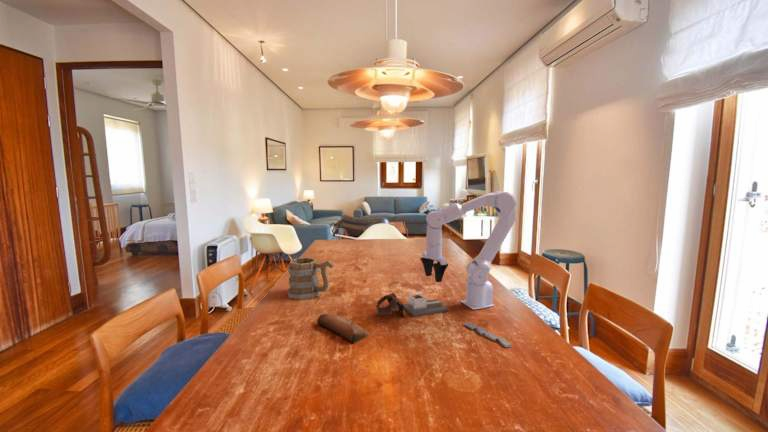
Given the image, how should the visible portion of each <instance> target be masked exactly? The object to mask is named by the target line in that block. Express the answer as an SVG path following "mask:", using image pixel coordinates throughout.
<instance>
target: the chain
mask: <svg viewBox="0 0 768 432" xmlns="http://www.w3.org/2000/svg"><path fill="white" fill-rule="evenodd" d="M464 326H465V327H467V328H469V329H471V330H472V331H475V332H477V333H478V334H479V335H480V336H483V337H485V338H487V339H489V340H490V341H493V342H498V344H500V345H501V346H503V347H504V348H511V347H512V343H511V342H510V341H508V340H507V339H505V338H504V337H500V336H497V335H495V334H494V333H492V332H490V331H486V329H484V328H483V327H482V326H478V325H476V324H474V323H473V322H471V321H468V322H465V323H464Z"/></svg>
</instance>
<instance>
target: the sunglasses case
mask: <svg viewBox="0 0 768 432" xmlns="http://www.w3.org/2000/svg"><path fill="white" fill-rule="evenodd" d="M317 324H318V325H319V326H321V327H324V328H326V329H329V330H331V331H332V332H334V333H336V334H338V336H340V337H343V338H344V339H346V340H348V341H349V342H351V343H353V344H356V343H358V342H360V341H362V340H364V339H365V338H368V337H369V336H371V333H370V332H369V331H368V330H367V329H365V328H363V327H362V326H360V325H358V324H357V323H355V322H353V320H351V319H349V318H348V317H345V316H344V317H342V316H341V315H337V314H329V313H327V314H326V313H324V314H323V313H322V314H320V315H319V316H318V318H317Z"/></svg>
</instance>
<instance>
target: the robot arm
mask: <svg viewBox="0 0 768 432" xmlns="http://www.w3.org/2000/svg"><path fill="white" fill-rule="evenodd" d="M517 204H518V203H517V200H516V199H515V197H514V195H513V194H512V193H511V192H508V191H502V190H496V191H493V192H489V193H486V194H482V195H481V196H477V197H475V198H473V199H471V200H468V201H466V202H464V203H462V204H459V203H456V202H454V203H453V202H450V203H449V204H448V205H447V206H444V207H442V208H436V210H432V211H429V212H428V214H427V215H426V218H425V221H426V223H427V226H426V241H425V242H426V250H422V253H421V254H422V255H421V256H422V257H420V258H419V259H420V262H421V263H422V266H423V269H424V273H425V276H426V277H431V276H432V275H433V274H432V273H433V270H434V278H435V279H434V280H435V282H436V283H441V282H443V277H444V274H445V272H446V270H447V268H448V266H449V263H447V262H448V261H447V258H445V257H444V256H443V253H442V251H443V250H442V249H443V246H442V245H443V231H442V230H443V229H442V226H443V225H444V224H448V223H451V222H453V221H456V220H458V219H462V217H463V215H464V214H465V213H468V212H470V211H474V210H476V209H479V208H480V209H481V208H482V207H490V208H491V207H492V208H494V210H495V211H496V213H497V216H498V220H497V222H496V224H495V225H494V227H493V229H492V231H491V233H490V234H489V236H488V238H487V239H486V241H485V243H484V244H483V247H482V249H481V250H480V252H479V254H478V255H476V256H475V257H474V258H473V260H472V261H470V262H469V263H468V264H467V266H466V269H465V270H466V274H467V275H468V277H467V279H466V284H465V285H466V289H465V299H462V300H461V301H460V302H461V303H462V304H463V305H465V306H467V307H468V308H470V309H471V310H479V309H486V308H492V307H494V303H493V301H494V300H493V299H494V287H493V284H492V282H490V281H489V280H488V279H489V274H490V271H491V269H492V268H491V267H492V262H493V260H494V259H495V257H496V255H497V253H498V252H499V250H500V248H501V246H502V245H503V243H504V241H505V239H506V238H507V236H508V234H509V233H510V231H511V229H512V227H513V226H514V224H515V222H516V220H517V219H516V215H517V214H516V212H517V210H516V207H517ZM434 262H435V263H434Z"/></svg>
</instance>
